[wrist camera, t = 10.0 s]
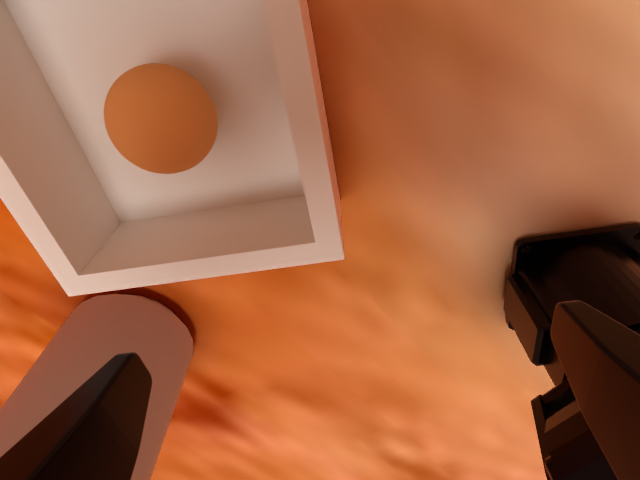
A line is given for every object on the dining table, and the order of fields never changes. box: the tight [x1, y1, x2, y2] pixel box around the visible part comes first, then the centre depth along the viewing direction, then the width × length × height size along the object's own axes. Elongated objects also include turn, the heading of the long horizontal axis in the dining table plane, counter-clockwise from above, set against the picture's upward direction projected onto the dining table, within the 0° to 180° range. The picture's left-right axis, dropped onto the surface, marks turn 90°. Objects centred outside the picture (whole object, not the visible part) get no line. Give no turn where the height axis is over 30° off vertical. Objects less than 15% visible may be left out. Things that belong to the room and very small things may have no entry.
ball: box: [104, 63, 218, 174], centre depth 15 cm, size 4×4×4 cm
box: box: [0, 0, 344, 296], centre depth 16 cm, size 12×12×5 cm
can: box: [0, 294, 193, 480], centre depth 21 cm, size 8×8×12 cm
